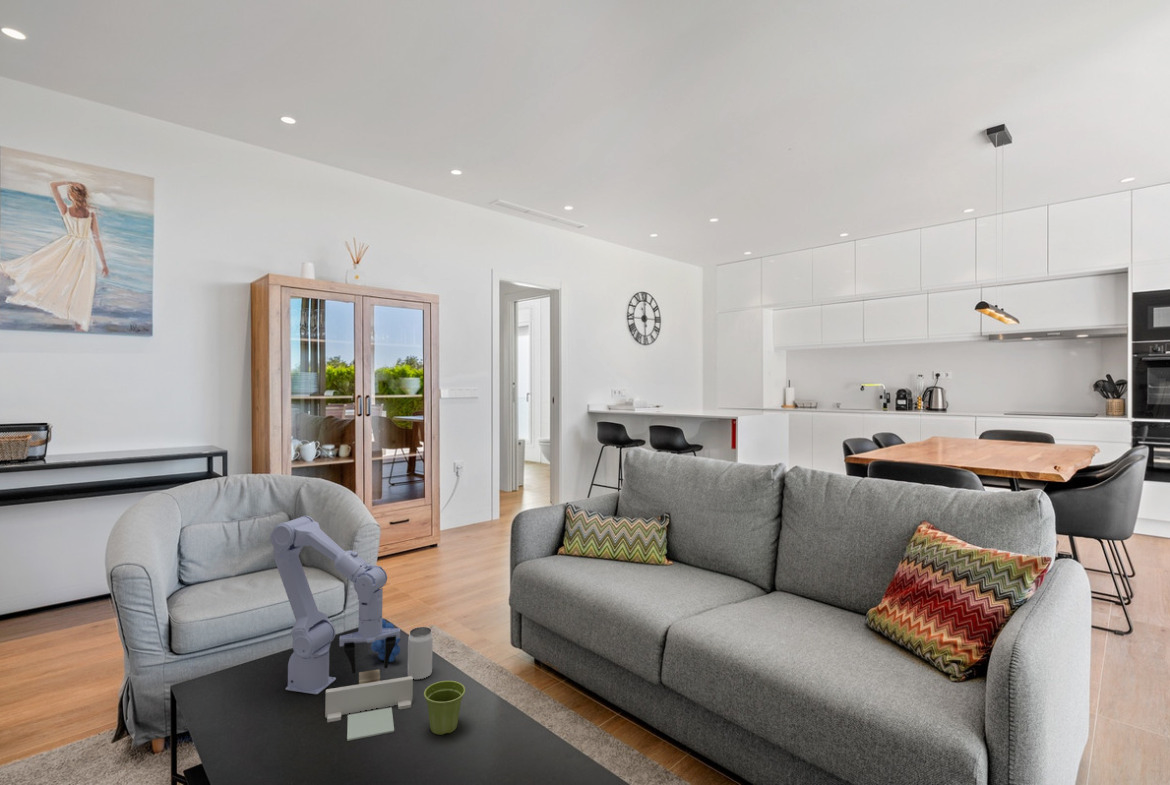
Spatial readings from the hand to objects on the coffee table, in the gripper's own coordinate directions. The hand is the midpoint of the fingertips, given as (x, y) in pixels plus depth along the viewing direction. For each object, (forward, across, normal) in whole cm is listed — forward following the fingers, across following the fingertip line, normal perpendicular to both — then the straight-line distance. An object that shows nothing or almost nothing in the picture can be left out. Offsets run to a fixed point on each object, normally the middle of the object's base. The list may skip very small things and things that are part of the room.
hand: (369, 668), depth 150 cm
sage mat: (+7, 0, -14) cm, 15 cm away
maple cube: (+7, 0, 0) cm, 7 cm away
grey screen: (+7, 0, -7) cm, 9 cm away
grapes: (+7, +4, +17) cm, 19 cm away
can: (+7, +13, +6) cm, 16 cm away
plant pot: (+7, +16, -21) cm, 27 cm away
